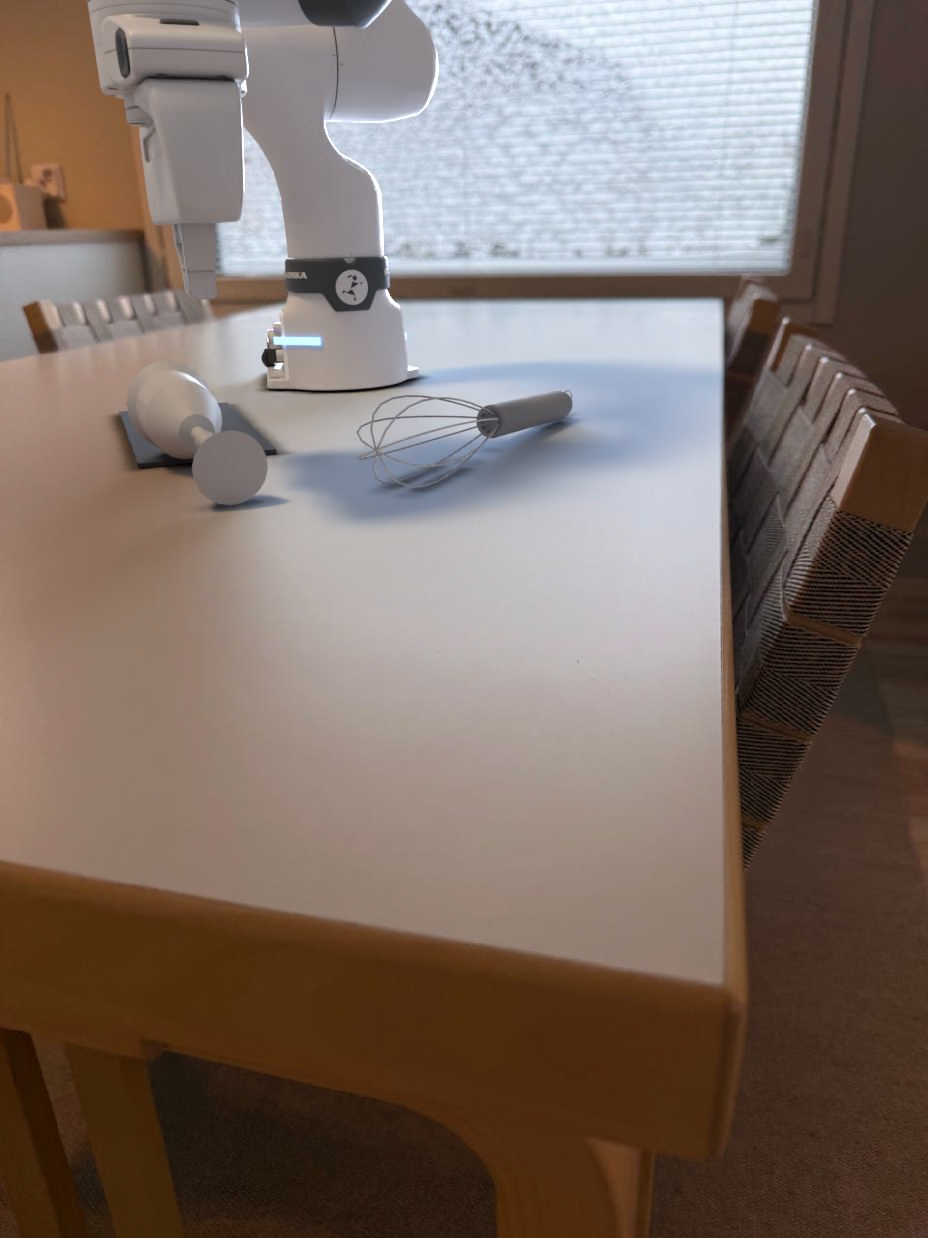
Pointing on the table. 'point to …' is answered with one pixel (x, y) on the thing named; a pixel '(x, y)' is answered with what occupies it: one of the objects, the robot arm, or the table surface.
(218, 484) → the chalice
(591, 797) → the table surface
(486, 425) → the kitchen whisk
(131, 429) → the mat
